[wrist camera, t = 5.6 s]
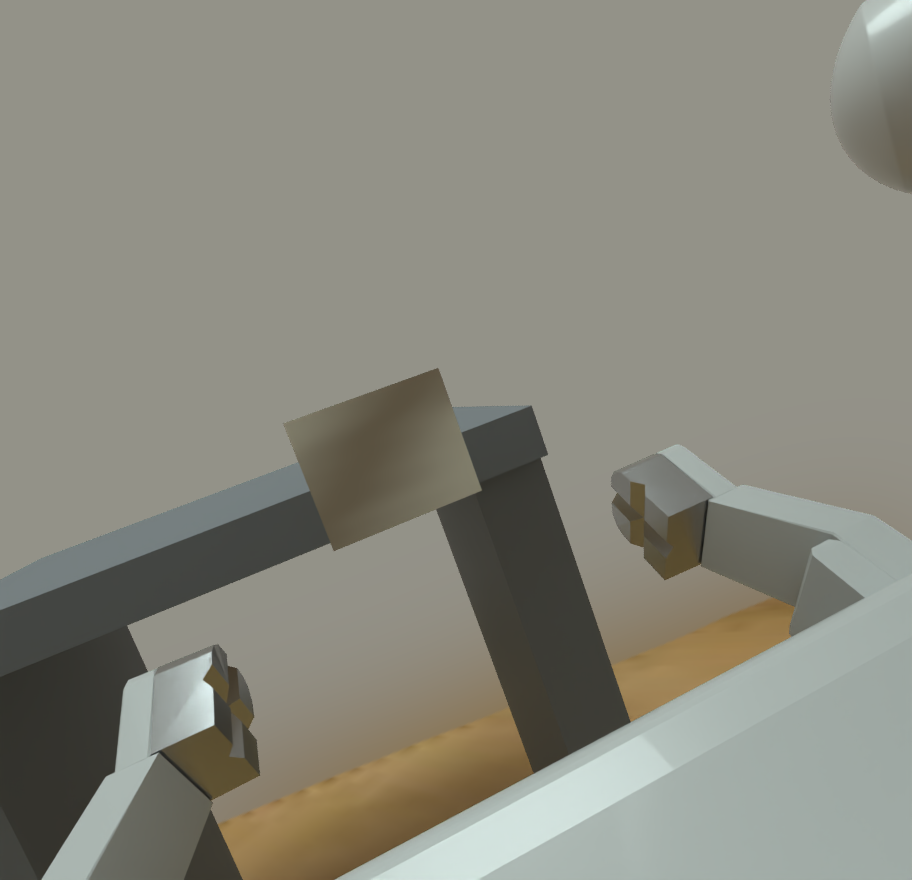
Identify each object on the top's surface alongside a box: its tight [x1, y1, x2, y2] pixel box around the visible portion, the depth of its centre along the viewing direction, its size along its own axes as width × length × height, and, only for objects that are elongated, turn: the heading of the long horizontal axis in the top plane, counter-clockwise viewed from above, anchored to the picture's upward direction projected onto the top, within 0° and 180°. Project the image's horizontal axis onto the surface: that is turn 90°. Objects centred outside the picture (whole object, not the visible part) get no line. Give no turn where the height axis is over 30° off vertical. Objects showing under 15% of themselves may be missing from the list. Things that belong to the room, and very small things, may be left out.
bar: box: [284, 368, 482, 551], centre depth 23 cm, size 3×26×2 cm, turn 13°
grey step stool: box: [0, 406, 630, 880], centre depth 29 cm, size 25×16×26 cm, turn 103°
